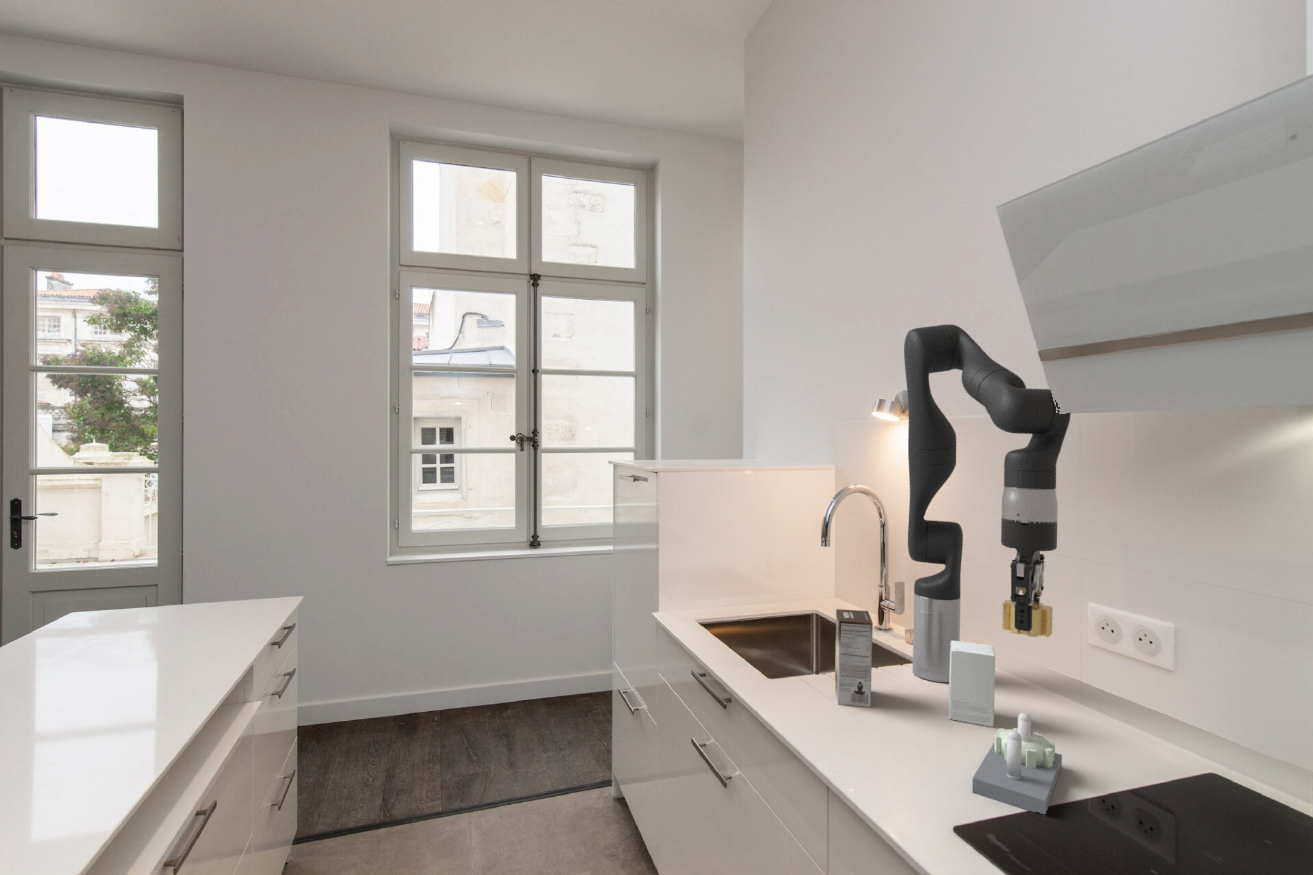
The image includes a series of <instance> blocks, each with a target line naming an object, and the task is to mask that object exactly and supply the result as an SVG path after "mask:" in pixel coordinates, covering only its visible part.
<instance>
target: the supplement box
mask: <svg viewBox="0 0 1313 875" xmlns="http://www.w3.org/2000/svg"><path fill="white" fill-rule="evenodd" d="M995 676H996V654H995V650H994V646H993V645H989V644H984V643H983V644H982V643H975V642H967V641H961V640H960V641H951V647H950V674H949V682H948V683H949V684H948V718H949V720H953V721H959V722H963V723H968V724H974V725H977V726H978V725H980V726H985V727H990V728H992V727H994V725H995V679H996V678H995Z"/></svg>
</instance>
